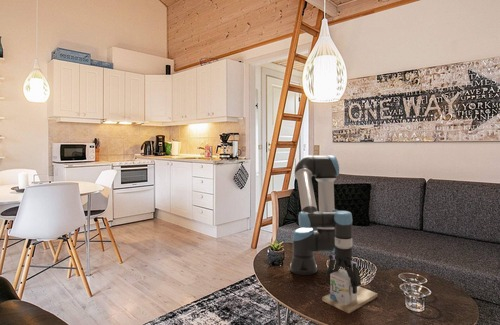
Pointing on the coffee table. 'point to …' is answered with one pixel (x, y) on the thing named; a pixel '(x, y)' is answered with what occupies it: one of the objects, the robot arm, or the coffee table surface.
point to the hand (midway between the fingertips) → (343, 295)
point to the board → (362, 298)
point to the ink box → (340, 287)
